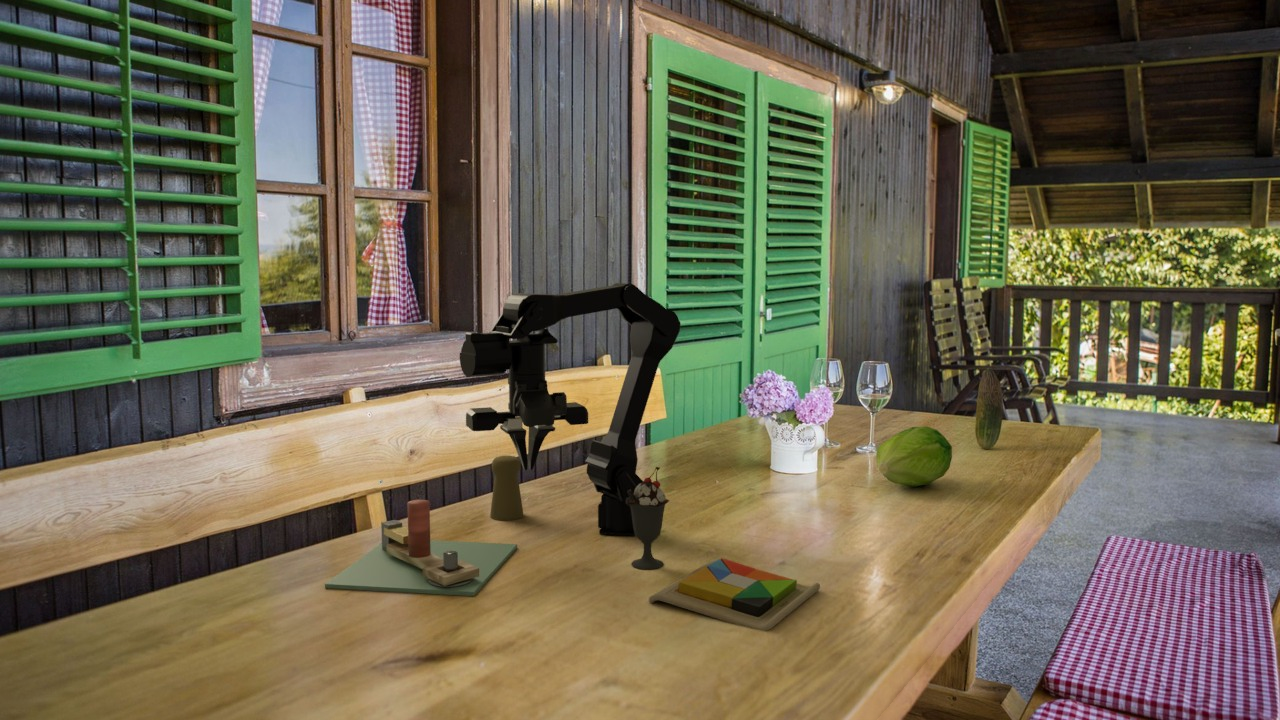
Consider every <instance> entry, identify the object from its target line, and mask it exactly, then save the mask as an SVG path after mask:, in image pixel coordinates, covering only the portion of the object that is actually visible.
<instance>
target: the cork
mask: <svg viewBox="0 0 1280 720" xmlns="http://www.w3.org/2000/svg"><path fill="white" fill-rule="evenodd" d="M521 466H522V464H521V461H520V459H519V457H516V456H515V455H500V456H495V457H494V458H493V460H492V461H491V472H492V473H493V474H494V477H493V478H494V479H493V487H492V496H491V499H492V500H491V506H490V514H489V515H490V516H489V517H490V518H491V519H493V520H496V521H505V522H506V521H507V522H508V521H516V520H519V519H521V518H523V517H524V516H525V515H524V509H523V502H522V495H521V489H520V483H519V476H518V475H519V473H520V471H521Z"/></svg>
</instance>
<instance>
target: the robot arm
mask: <svg viewBox="0 0 1280 720" xmlns="http://www.w3.org/2000/svg"><path fill="white" fill-rule="evenodd" d="M611 310H617V311H618V312H619V314H620V316H621V318H622V319H623V320H624V321H625V322H626V323H627V324H629V326H631V327H630V332H629V333H630V334H629V341H630V347H631V358H630V361H629V363H628V366H627V370H626V374H625V376H624V380H623V383H622V387H621V390H620V393H619V396H618V399H617V402H616V406H615V408H614V409H615V410H614V412H613V416H612V419H611V421H610V426H609V428H608V431H607V433H606V435H605V436H604V437H603V438H602V439H601V440H600V441H599V440H595V439H593V440H592V442H591V444H590V450H589V452H588V453H589V454H588V456H587V458H586V459H585V460H584V462H585V463H586V464H587V465H586V474H587V476H588V478H589V480H590V481H591V483H592V484H594V488H595V491H596V493H600V494H602V495H601V497H600V502H599V503H598V505H597V527H598V528H599V531H598V533H599V534H600V535H611V536H612V535H614V536H635V533H634V528H633V521H632V513H631V508H630V506H627V504H626V499H627V498H628V497H630V496H629V495H628V492H627V491H628V490H629V489H631V491H632V492H633V494H634V491H635V488H636V487H637V486H638V485H639V483H642V482H643V481H644V480H643V479H642V478H641V477H640V476H639V475H638V474H637V467H638V461H639V460H638V452H637V447H636V441H637V436H638V433H639V430H640V426H641V424H642V421H643V417H644V413H645V410H646V407H647V404H648V400H649V397H650V394H651V391H652V389H653V384H654V381H655V378H656V375H657V372H658V371H657V370H658V368H659V365H660V362H661V361H662V360H663V359H664V358H665V357H666V356H667V354H669V352H670V351H671V350H672V349H673V347H674V345H675V343H676V340H677V338H678V337H679V333H680V331H681V327H682V326H681V321H680V319H679V317H678V315H677V313H676V312H675V311H673V310H672V309H670V308H669V309H668V308H666V307H665V306H664V305H663V304H661V303H659V302H658V301H657V300H655V299H653V297H652V298H651V297H650V296H648V295H647V294H645V292H643V291H642V290H641V289H640V288H639V287H638V286H637V285H635V284H633V283H623V282H620V283H619V282H617V283H614V284H612V285H606V286H600V287H594V288H589V289H584V290H583V289H582V290H576V291H570V292H564V293H558V294H557V293H556V294H549V293H548V294H547V293H529V292H528V293H527V292H526V293H523V292H522V293H521V292H516V293H511V294H510V295H509V296H507V299H506V300H505V301H504V304H503V307H502V313H501V314H500V315H499V317H498V318H497V320H496V321H495V323H494V325H492V327H491V329H490V330H489V332H481V333H480V332H475V331H474V332H473V331H471V332H469V331H468V332H466V333H465V340H464V341H463V342H462V345H461V349H460V352H459V363H460V368H461V371H462V373H463V374H464V376H465V377H466V378H476V377H490V376H498V375H499V376H500V375H501V376H502V375H504V374H505V373H506V372H507V370H508V377H507V384H508V395H509V396H508V397H509V398H508V401H509V402H508V411H497V410H495V409H494V408H492V407H490V406H489V407H473V408H472V407H471V408H469V409H468V410H467V411H466V415H465V427H468V429H470V430H471V431H472V432H487V431H489V432H490V431H495V429H496V428H497V427H498V426H499V425H500V426H499V428H500V430H501V431H503V432H504V433H506V434H507V435H509V437H510V439H511V441H512V444H513V445H514V448H515V450H516V453H517V455H518V459H519V461H520V464H521V466H522V469H523V470H524V471H527V470H530V471H531V470H534V467H535V464H536V461H537V459H538V456H539V452H540V450H541V447H542V446H543V442H544V440H545V438H546V437H547V436H548V434H549V433H551V432H555V431H556V427H555V426H553V425H555V421H562V420H565V421H566V423H567V424H569V425H570V426H576V425H587V424H589V411H588V408H586V406H584V405H582V404H581V403H578V402H568V401H567V400H568V399H567V395H566V393H565V392H564V391H563V392H561V391H560V392H552V394H551V393H549V389H548V381H547V379H546V345H549V344H550V345H553V344H557V343H558V342H559V341H558V338H556V337H555V336H554V335H553V334H552V333H551V332H550V330H549V329H548V328H549V327H552V326H553V325H556V324H558V323H559V322H561V321H562V320H565V319H568V318H570V317H577V316H582V315H588V314H592V313H593V314H594V313H600V312H605V311H611ZM532 332H535V333H532ZM510 339H511V340H510ZM523 425H524V426H525V427H528V440H527V439H526V437H527V430H526V428H523ZM526 440H527V441H528V445H527V444H526V443H527V441H526ZM635 537H636V536H635Z"/></svg>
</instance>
